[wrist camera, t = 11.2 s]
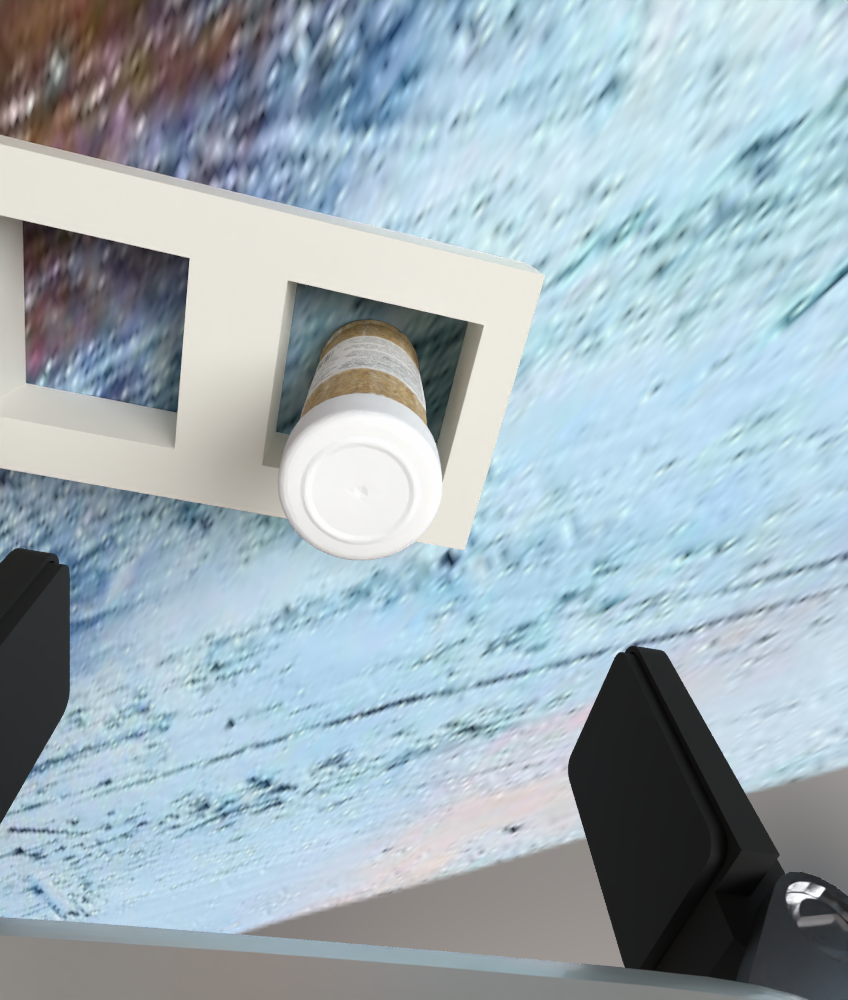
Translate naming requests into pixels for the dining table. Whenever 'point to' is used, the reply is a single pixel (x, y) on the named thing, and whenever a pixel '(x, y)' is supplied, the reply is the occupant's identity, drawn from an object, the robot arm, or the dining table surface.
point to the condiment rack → (242, 334)
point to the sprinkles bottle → (362, 448)
